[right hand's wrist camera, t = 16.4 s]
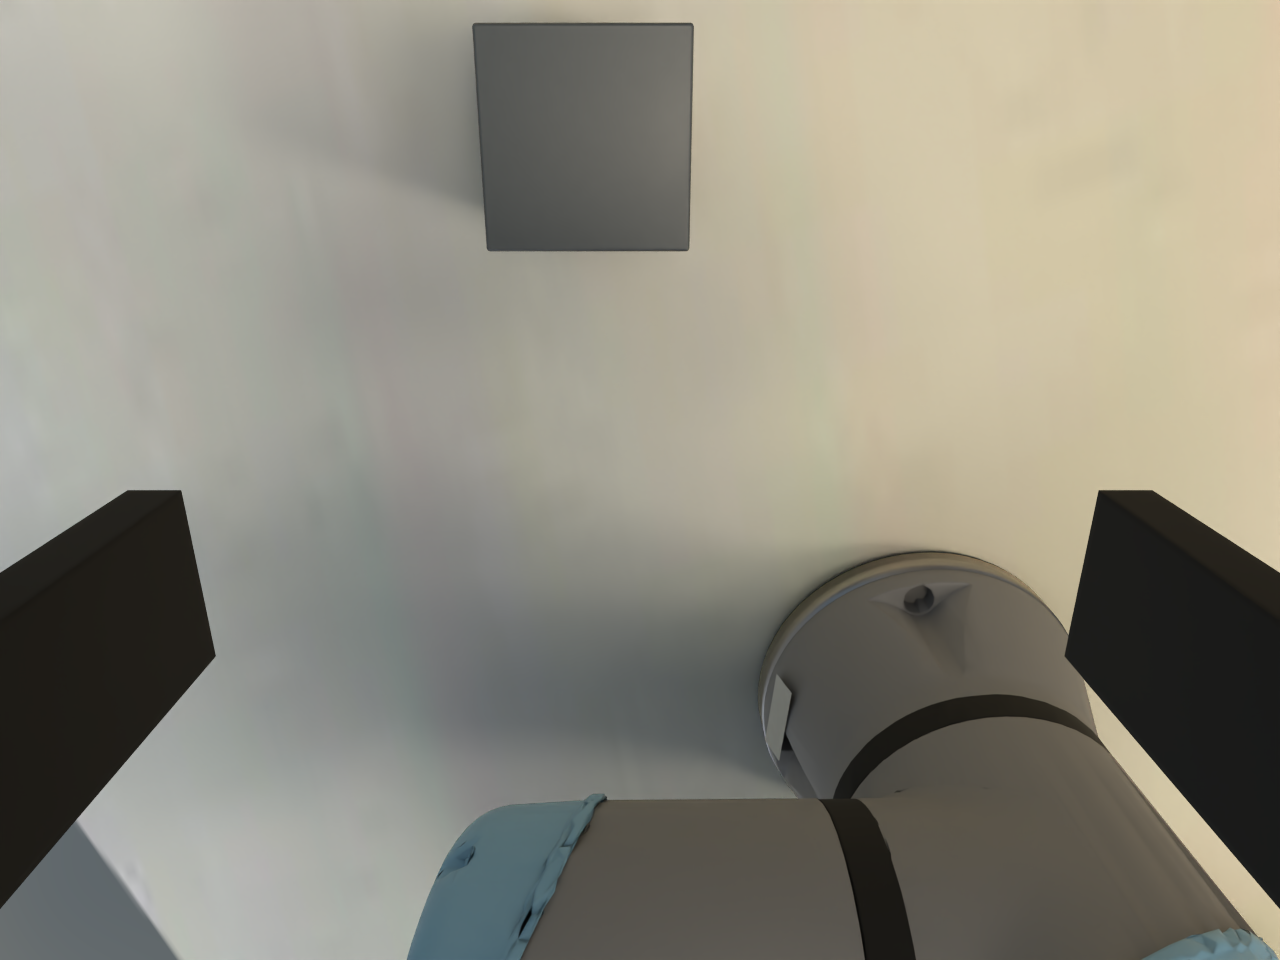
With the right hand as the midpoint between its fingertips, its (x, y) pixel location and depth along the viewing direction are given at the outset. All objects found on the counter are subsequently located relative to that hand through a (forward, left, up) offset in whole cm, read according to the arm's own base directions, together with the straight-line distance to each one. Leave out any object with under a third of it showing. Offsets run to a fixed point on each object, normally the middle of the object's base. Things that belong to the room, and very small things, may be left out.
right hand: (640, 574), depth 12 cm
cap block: (+5, -4, -25) cm, 25 cm away
